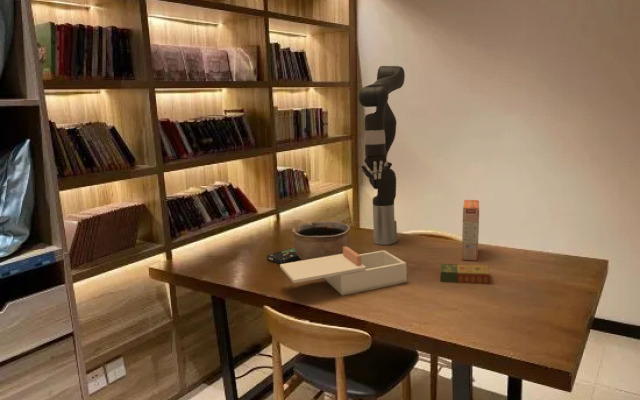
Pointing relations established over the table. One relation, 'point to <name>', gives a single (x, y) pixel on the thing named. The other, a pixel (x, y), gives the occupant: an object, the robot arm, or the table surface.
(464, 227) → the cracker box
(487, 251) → the table surface
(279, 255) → the disk drive
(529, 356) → the table surface
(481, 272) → the carton
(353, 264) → the lid
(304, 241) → the ceramic bowl
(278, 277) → the table surface
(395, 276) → the box
